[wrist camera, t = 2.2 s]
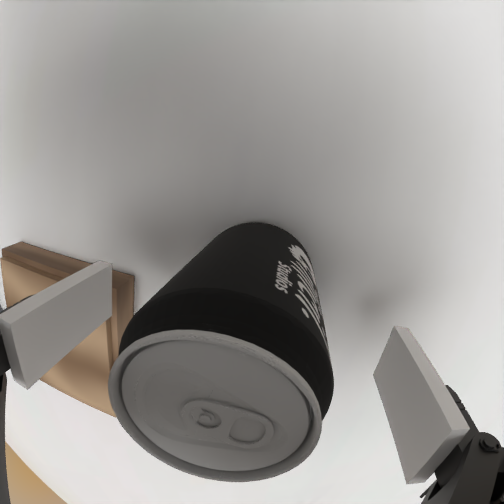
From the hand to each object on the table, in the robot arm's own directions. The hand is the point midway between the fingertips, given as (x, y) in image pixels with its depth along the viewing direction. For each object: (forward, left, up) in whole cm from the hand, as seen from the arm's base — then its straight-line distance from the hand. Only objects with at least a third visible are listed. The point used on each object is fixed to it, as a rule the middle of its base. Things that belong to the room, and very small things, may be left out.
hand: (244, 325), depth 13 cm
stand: (+8, -14, -6) cm, 17 cm away
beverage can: (0, 0, -6) cm, 6 cm away
